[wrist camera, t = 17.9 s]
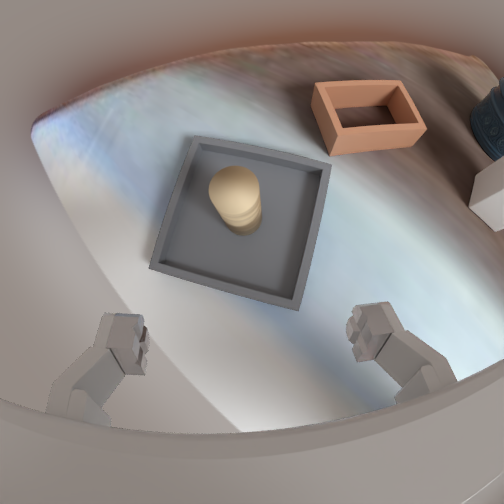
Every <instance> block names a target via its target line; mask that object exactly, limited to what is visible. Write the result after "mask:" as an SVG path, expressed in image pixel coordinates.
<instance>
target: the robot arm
mask: <svg viewBox="0 0 504 504" xmlns="http://www.w3.org/2000/svg"><path fill="white" fill-rule="evenodd" d="M352 313H353V316H351V317H350V318H349V319H348V322H347V324H346V333H347V337H348V340H349V341H350V342H351V343H353V344H354V345H353V348H352V350H353V353H354V356H355V358H356V361H357V362H362V361H368V360H374V359H375V360H374V361H375V362H376V363H378V364H379V365H380V366H381V367H382V368H383V369H384V370H385V371H386V372H387V373H388V374H389V375H390V376H391V377H392V378H393V379H394V380H395V381H396V382H397V383H398V384H399V385H400V386H401V387H402V389H401V390H400V391H399V392H398V393H397V394H396V396H395V400H396V403H397V404H396V405H393V406H390V407H386V408H383V409H379V410H376V411H372V412H368V413H364V414H360V415H356V416H352V417H348V418H343V419H339V420H334V421H329V422H323V423H318V424H312V425H306V426H299V427H292V428H285V429H276V430H267V431H256V432H241V433H217V434H189V433H165V432H151V431H139V430H130V429H123V428H116V427H111V418H110V416H109V415H108V414H107V413H106V412H105V411H104V410H103V409H102V408H101V407H102V406H103V405H104V403H105V402H106V400H107V399H108V398H109V397H110V395H111V394H112V393H113V391H114V390H115V389H116V387H117V386H118V385H119V383H120V382H121V380H122V379H123V378H124V377H125V375H126V374H127V375H145V374H146V367H147V359H146V357H145V354H146V353H147V352H148V351H149V333H148V329H147V328H146V327H145V326H144V318H143V315H140V314H120V313H105V314H104V315H103V316H102V319H101V322H100V326H99V328H98V332H97V335H96V339H95V342H94V346H93V347H89V348H88V349H87V350H86V351H85V352H84V353H83V354H82V355H81V356H80V357H79V358H78V359H77V360H76V361H75V362H74V363H73V364H72V365H71V366H70V367H69V368H68V369H67V370H66V371H65V372H64V373H63V374H62V375H61V376H60V377H59V378H58V379H56V380H55V381H54V382H53V384H52V387H51V391H50V395H49V399H48V403H47V407H46V412H45V413H44V412H40V411H37V410H33V409H30V408H27V407H24V406H21V405H18V404H15V403H12V402H9V401H6V400H3V399H1V398H0V504H504V359H503V360H500V361H498V362H497V363H495V364H493V365H491V366H489V367H487V368H485V369H483V370H481V371H479V372H477V373H475V374H473V375H471V376H469V377H467V378H464V379H462V380H460V381H457V379H456V377H455V375H454V373H453V371H452V369H451V367H450V365H449V363H448V361H447V359H446V358H445V357H444V356H443V355H441V354H440V353H438V352H437V351H436V350H434V349H433V348H432V347H430V346H429V345H427V344H426V343H425V342H423V341H422V340H420V339H419V338H418V337H416V336H415V335H413V334H412V333H411V332H409V331H408V330H406V331H405V330H404V328H403V326H402V324H401V322H400V321H399V319H398V317H397V315H396V313H395V311H394V309H393V308H392V306H391V304H390V303H389V302H380V303H370V304H362V305H356V306H355V307H354V308H353V310H352Z"/></svg>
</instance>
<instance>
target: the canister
mask: <svg viewBox="0 0 504 504" xmlns="http://www.w3.org/2000/svg"><path fill="white" fill-rule="evenodd" d="M470 122H471V127H472V130H473V132H474V135H475V137H476V139H477V140H478V142H479V144H480V145H481V147H482V148H483V149H484V151H485V152H486V153H487V154H488V155H489V156H490V157H491V158H492V159H493V160H494V161H497V160H498V159H500V158H501V157H503V156H504V77H503V78H501V79H500V80H499V86H498V87H493V88H492V89H491V91H490V92H489V94H488V95H487V96H486V97H485V98H484V99H483V100H482V101H481V102H480V103H478V104H477V105H476V106H475V107H474V109H473V111H472V113H471V115H470Z"/></svg>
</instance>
